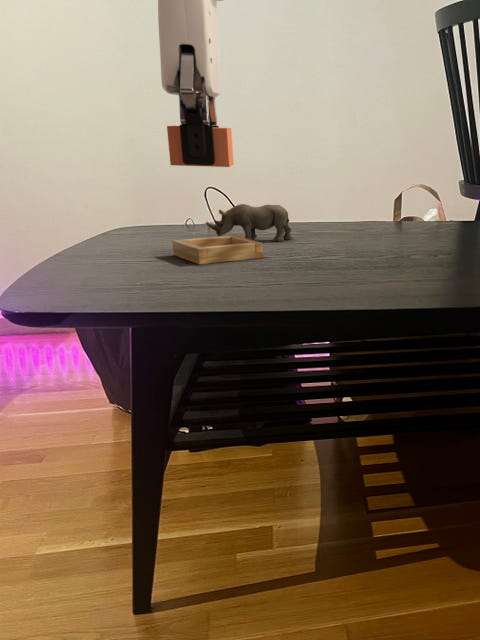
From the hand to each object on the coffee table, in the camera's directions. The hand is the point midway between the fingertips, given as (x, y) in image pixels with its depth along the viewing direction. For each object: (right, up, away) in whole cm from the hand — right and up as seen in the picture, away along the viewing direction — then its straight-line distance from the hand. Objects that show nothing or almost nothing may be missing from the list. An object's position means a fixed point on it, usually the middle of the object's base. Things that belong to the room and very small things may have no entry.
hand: (202, 161), depth 78 cm
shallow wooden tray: (-8, -7, +27) cm, 29 cm away
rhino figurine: (-8, -2, +42) cm, 43 cm away
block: (0, 0, 0) cm, 0 cm away
